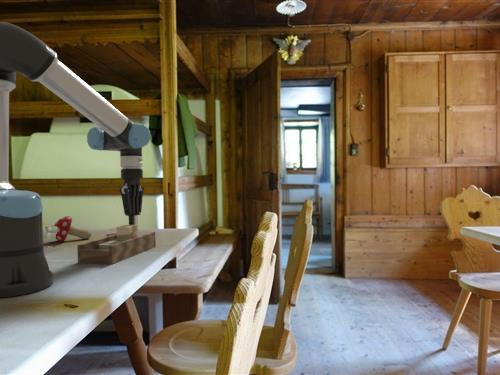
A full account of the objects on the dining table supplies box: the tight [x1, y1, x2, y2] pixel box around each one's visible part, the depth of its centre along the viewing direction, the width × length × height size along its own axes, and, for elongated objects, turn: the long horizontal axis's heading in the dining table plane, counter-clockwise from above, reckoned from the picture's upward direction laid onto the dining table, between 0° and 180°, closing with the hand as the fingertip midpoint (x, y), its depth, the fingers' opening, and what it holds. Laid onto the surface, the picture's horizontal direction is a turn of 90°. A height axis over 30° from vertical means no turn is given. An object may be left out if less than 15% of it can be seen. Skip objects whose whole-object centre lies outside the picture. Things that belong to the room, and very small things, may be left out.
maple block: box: [115, 224, 139, 241], centre depth 130 cm, size 5×5×5 cm
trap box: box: [76, 231, 157, 265], centre depth 126 cm, size 27×12×6 cm, turn 166°
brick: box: [106, 227, 117, 237], centre depth 155 cm, size 17×8×5 cm, turn 16°
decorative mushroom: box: [53, 215, 92, 243], centre depth 156 cm, size 11×11×15 cm
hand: (133, 233), depth 134 cm, fingers closed
